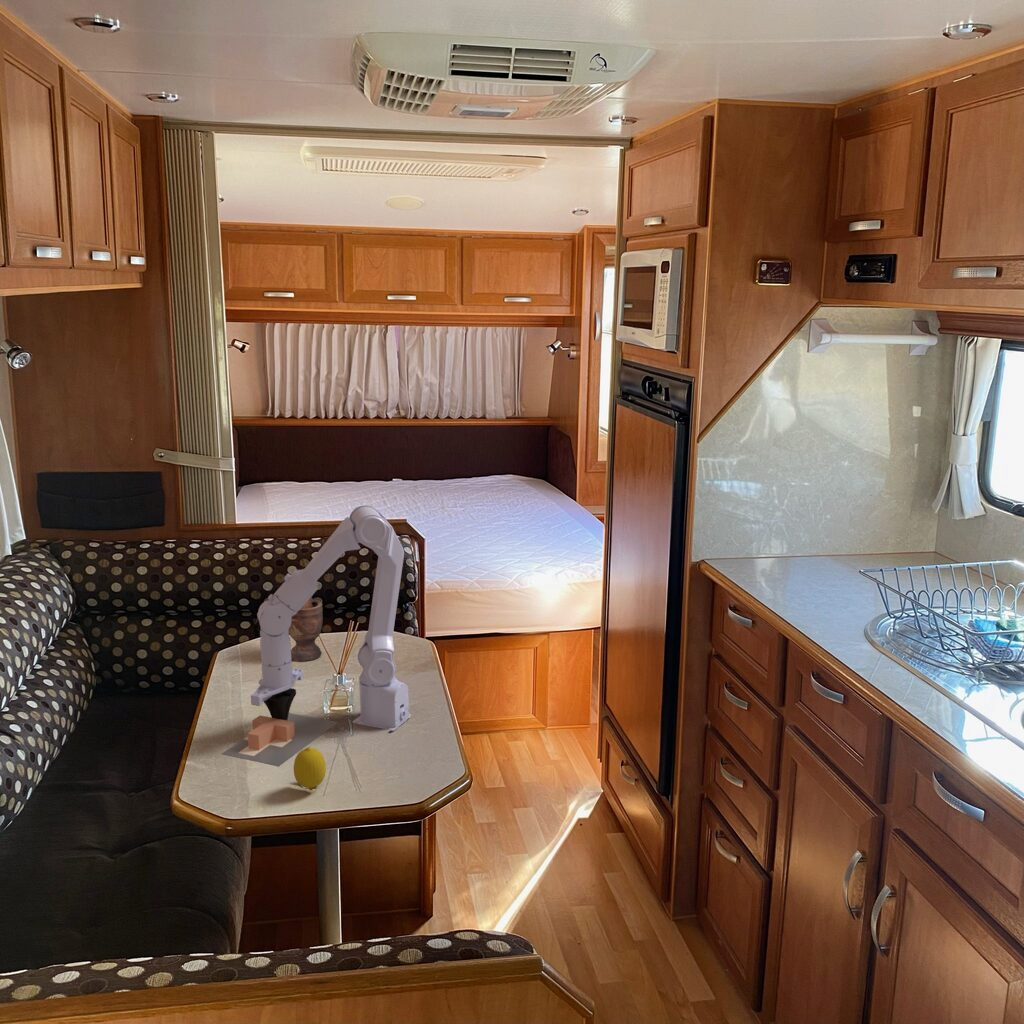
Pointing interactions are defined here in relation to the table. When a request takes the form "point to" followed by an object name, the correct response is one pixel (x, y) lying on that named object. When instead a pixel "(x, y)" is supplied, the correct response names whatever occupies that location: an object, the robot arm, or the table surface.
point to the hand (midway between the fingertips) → (280, 725)
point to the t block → (269, 731)
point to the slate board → (283, 750)
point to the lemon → (309, 768)
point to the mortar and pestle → (306, 631)
